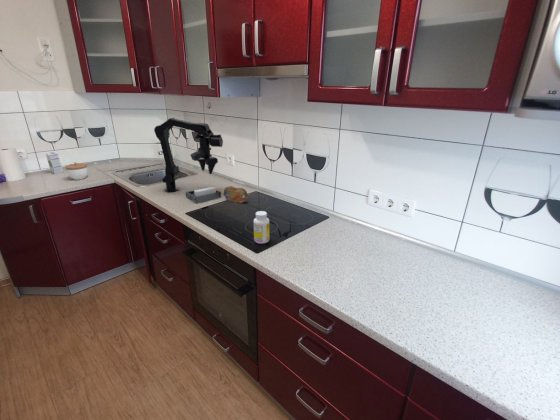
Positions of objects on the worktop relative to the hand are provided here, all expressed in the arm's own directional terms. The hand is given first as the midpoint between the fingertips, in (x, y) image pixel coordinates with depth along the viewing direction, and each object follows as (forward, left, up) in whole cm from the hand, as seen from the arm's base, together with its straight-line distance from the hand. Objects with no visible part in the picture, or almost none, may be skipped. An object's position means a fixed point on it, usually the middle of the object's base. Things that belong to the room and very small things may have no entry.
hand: (206, 172), depth 179 cm
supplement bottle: (+69, -11, -13) cm, 71 cm away
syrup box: (-106, -66, -13) cm, 126 cm away
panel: (+8, -6, -12) cm, 16 cm away
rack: (+5, -6, -13) cm, 15 cm away
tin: (+22, +6, -13) cm, 26 cm away
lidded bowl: (-81, -56, -13) cm, 99 cm away
